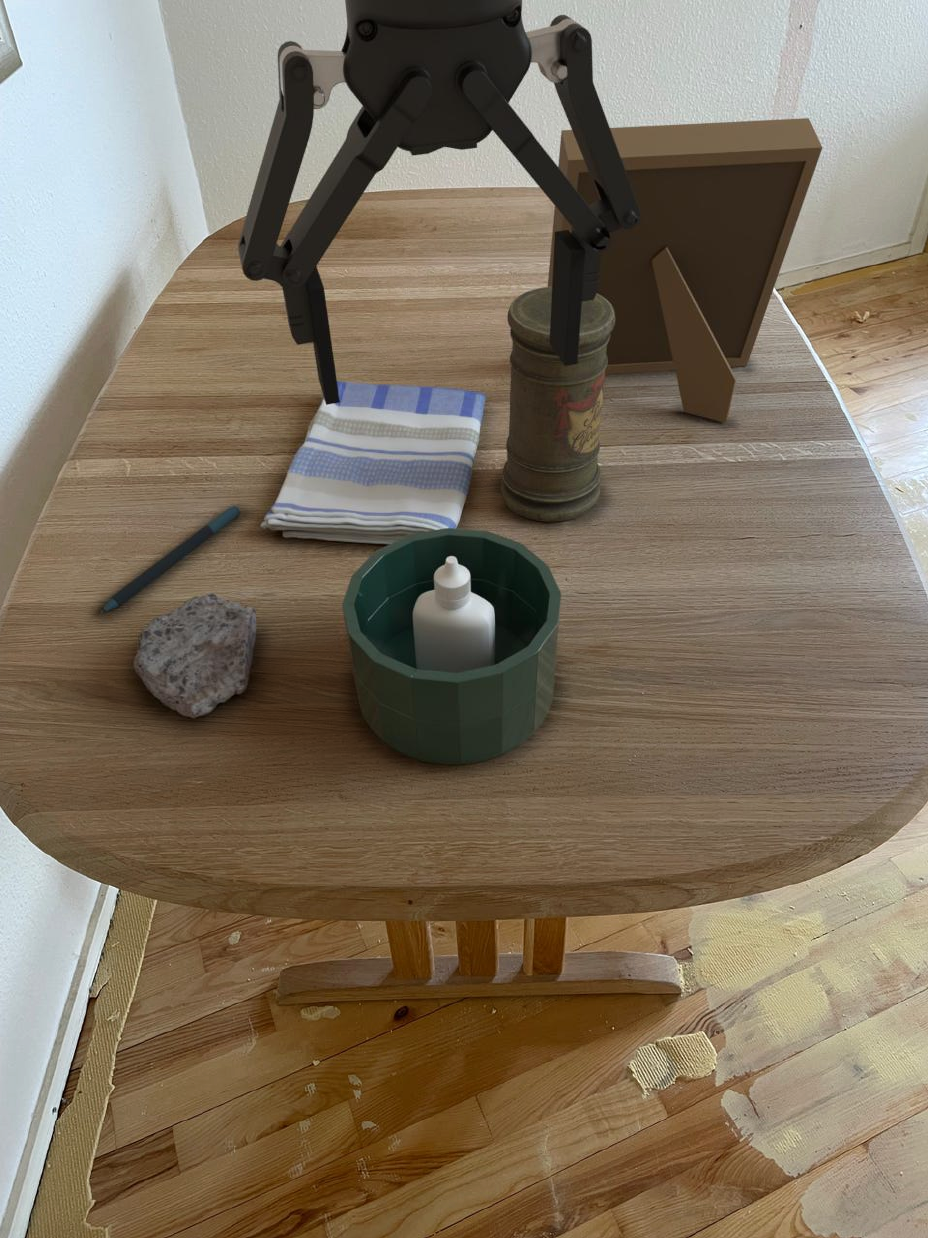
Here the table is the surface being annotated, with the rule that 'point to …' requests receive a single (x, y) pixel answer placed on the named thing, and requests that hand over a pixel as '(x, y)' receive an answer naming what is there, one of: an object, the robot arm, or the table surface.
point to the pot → (444, 701)
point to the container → (554, 411)
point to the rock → (197, 654)
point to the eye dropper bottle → (453, 624)
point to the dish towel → (381, 465)
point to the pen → (171, 559)
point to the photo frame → (697, 245)
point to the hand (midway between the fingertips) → (448, 372)
